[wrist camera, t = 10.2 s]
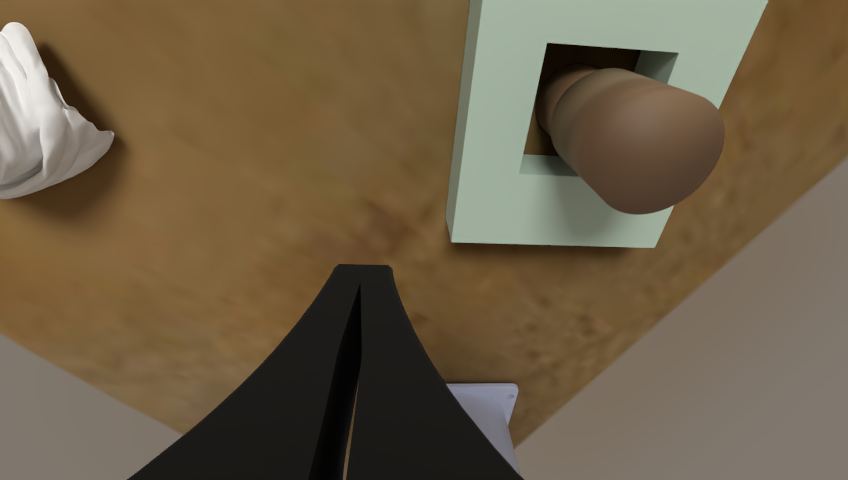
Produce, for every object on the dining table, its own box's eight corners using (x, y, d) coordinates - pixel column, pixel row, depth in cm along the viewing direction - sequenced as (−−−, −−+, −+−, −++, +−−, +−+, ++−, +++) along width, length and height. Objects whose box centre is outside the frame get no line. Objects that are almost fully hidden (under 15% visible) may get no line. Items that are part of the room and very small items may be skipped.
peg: (600, 143, 19) (694, 214, 13) (522, 143, 19) (580, 214, 13) (624, 56, 17) (747, 93, 11) (537, 54, 17) (614, 91, 11)
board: (628, 222, 21) (654, 247, 19) (445, 216, 20) (451, 242, 18) (739, -53, 15) (796, -60, 13) (479, -80, 14) (494, -92, 12)
